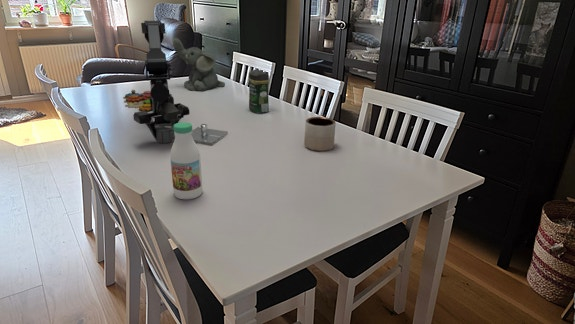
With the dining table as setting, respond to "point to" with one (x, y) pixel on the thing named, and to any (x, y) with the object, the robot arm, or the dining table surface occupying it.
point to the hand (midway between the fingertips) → (164, 136)
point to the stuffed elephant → (198, 67)
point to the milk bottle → (185, 163)
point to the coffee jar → (258, 91)
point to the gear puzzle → (138, 100)
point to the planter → (319, 133)
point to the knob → (164, 133)
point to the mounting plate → (207, 135)
